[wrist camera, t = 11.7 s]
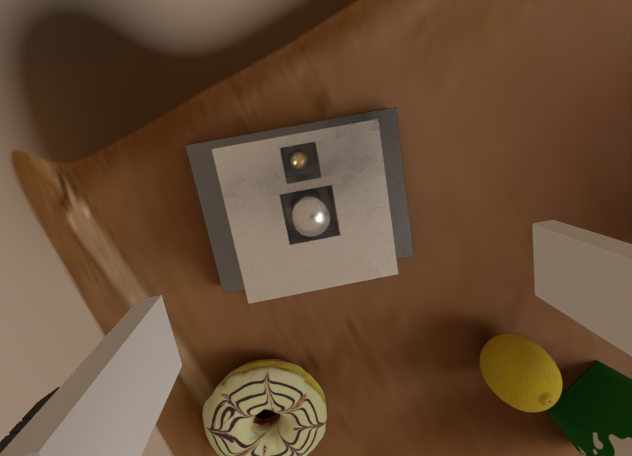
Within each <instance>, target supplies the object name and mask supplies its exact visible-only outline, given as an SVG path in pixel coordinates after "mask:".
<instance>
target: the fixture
mask: <svg viewBox="0 0 632 456" xmlns="http://www.w3.org/2000/svg"><path fill="white" fill-rule="evenodd" d="M375 119H378V122H379V130H380V137H381V145H382V153H383V160H384V168H385V176H386V184H387V191H388V199H389V207H390V214H391V222H392V230H393V237H394V245H395V253H396V259H400V258H405V257H410V256H414V255H413V247H412V238H411V230H410V221H409V213H408V205H407V196H406V188H405V179H404V171H403V163H402V154H401V146H400V137H399V129H398V121H397V112H396V107H395V108H389V109H384V110H378V111H373V112H367V113H362V114H356V115H351V116H345V117H340V118H334V119H329V120H323V121H318V122H312V123H307V124H301V125H296V126H290V127H285V128H279V129H274V130H268V131H263V132H258V133H252V134H247V135H241V136H236V137H230V138H225V139H219V140H214V141H208V142H203V143H197V144H192V145H186V150H187V154H188V158H189V161H190V165H191V169H192V173H193V177H194V181H195V185H196V189H197V193H198V196H199V200H200V204H201V208H202V212H203V216H204V220H205V224H206V228H207V231H208V235H209V239H210V243H211V247H212V251H213V255H214V259H215V263H216V267H217V270H218V274H219V278H220V282H221V286H222V290H223V293H228V292H233V291H238V290H243V289H245V287H244V282H243V278H242V274H241V270H240V266H239V261H238V257H237V253H236V249H235V245H234V241H233V236H232V232H231V228H230V224H229V220H228V216H227V211H226V207H225V203H224V199H223V195H222V190H221V186H220V182H219V178H218V174H217V170H216V165H215V161H214V157H213V153H212V149H215V148H221V147H226V146H232V145H237V144H243V143H248V142H254V141H259V140H265V139H270V138H276V137H281V136H287V135H292V134H298V133H303V132H309V131H314V130H320V129H326V128H331V127H337V126H342V125H348V124H353V123H359V122H364V121H370V120H375ZM280 149H281V154H282V159H283V164H284V169H285V175H286V178H288V177H293V176H299V175H304V174H309V173H315V172H317V171H316V165H315V160H314V154H313V148H312V142H310V143H305V144H299V145H294V146H288V147H283V148H280ZM282 199H283V204H284V209H285V214H286V219H287V224H288V229H289V231H292V230H297V231H298V232H299V233H301V234H302V235H305V236H309V237H313V236H317V235H320V234H321V233H323V232H324V231H325V230H326V229H327V227H328V225H329V223H333V219H332V213H331V207H330V201H329V195H328V190H327V186H323V187H317V188H312V189H307V190H301V191H296V192H291V193H285V194H282Z"/></svg>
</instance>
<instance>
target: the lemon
mask: <svg viewBox="0 0 632 456" xmlns="http://www.w3.org/2000/svg"><path fill="white" fill-rule="evenodd" d="M480 369H481V372H482V375H483V377H484V379H485V381H486V383H487V384H488V386H489V387H490V388H491V389H492V391H493V392H494V393H495V394H496V395H497V396H498V397H499V398H500V399H502V400H503V401H504V402H506V403H507V404H509V405H510V406H512V407H514V408H516V409H518V410H521V411H525V412H541V411H544V410H547V409H549V408H551V407H552V406H553V405H554V404H555V403H556V402H557V401H558V399H559V398H560V395H561V393H562V385H563V383H562V377H561V373H560V371H559V369H558V367H557V365H556V364H555V362H554V360H553V359H552V358H551V356H550V355H549V354H548V353H547V352H546V351H545V350H544V349H543V348H542V347H541V346H540V345H538V344H537V343H535V342H534V341H532V340H530V339H528V338H526V337H524V336H521V335H516V334H501V335H497V336H495V337H493V338H491V339H490V340H489V341H488V342H487V343H486V344H485V345H484V346H483V349H482V351H481V354H480Z"/></svg>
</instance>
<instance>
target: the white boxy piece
mask: <svg viewBox="0 0 632 456" xmlns="http://www.w3.org/2000/svg"><path fill="white" fill-rule="evenodd" d="M310 142H312V148H313V154H314V160H315V165H316V171H317V172H315V173H309V174H304V175H299V176H293V177H288V178H286V175H285V169H284V164H283V159H282V154H281V149H280V148H283V147H288V146H294V145H299V144H305V143H310ZM212 153H213V157H214V161H215V165H216V170H217V174H218V178H219V182H220V186H221V190H222V195H223V199H224V203H225V207H226V211H227V216H228V220H229V224H230V228H231V232H232V236H233V241H234V245H235V249H236V253H237V257H238V261H239V266H240V270H241V274H242V278H243V282H244V287H245V291H246V295H247V299H248V303H249V304H250V303H255V302H260V301H265V300H270V299H275V298H280V297H285V296H290V295H295V294H300V293H305V292H310V291H315V290H320V289H325V288H330V287H335V286H341V285H346V284H351V283H356V282H361V281H366V280H371V279H376V278H381V277H386V276H391V275H396V274H398V268H397V260H396V253H395V245H394V237H393V230H392V222H391V214H390V207H389V199H388V191H387V184H386V176H385V168H384V160H383V153H382V145H381V137H380V130H379V122H378V119H375V120H370V121H364V122H359V123H353V124H348V125H342V126H337V127H331V128H326V129H320V130H314V131H309V132H303V133H298V134H292V135H287V136H281V137H276V138H270V139H265V140H259V141H254V142H248V143H243V144H237V145H232V146H226V147H221V148H215V149H212ZM323 186H327V190H328V195H329V201H330V207H331V213H332V219H333V223H329V225H328V227H327V229H326V230H325V231H324V232H323V233H321V234H320V235H317V236H313V237H309V236H305V235H302V234H301V233H299V232H298V231H297V230H292V231H289V229H288V224H287V219H286V214H285V209H284V204H283V199H282V194H285V193H291V192H296V191H301V190H307V189H312V188H317V187H323Z"/></svg>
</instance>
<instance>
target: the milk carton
mask: <svg viewBox="0 0 632 456" xmlns="http://www.w3.org/2000/svg"><path fill="white" fill-rule="evenodd" d="M546 411H547V412H548V413H549V415H550V416H551V417H552V418H553V420H554V421H555V422H556V423H557V425H558V426H559V427H560V428H561V430H562V431H563V432H564V434H565V435H566V436H567V437H568V439H569V440H570V441H571V443H572V444H573V445H574V446H575V448H576V449H577V450H578V451H579V453H580V454H581V455H582V456H632V379H630V378H628V377H626V376H625V375H623V374H621V373H619V372H617V371H615V370H614V369H612V368H610V367H608V366H606V365H605V364H603V363H601V362H599V361H597V362H596V363H595V364H594V365H593V366H592V367H591V368H590V369H589V370H588V371H586V372H585V373H584V374H583V375H582V376H581V377H580V378H579V379H578V380H577V381H576V382H575V383H574V384H573V385H572V386H571V387H570V388H569V389H568V390H567V391H566V392H564V393H563V394H562V395H561V396H560V398H559V399H558V401H557V402H556V403H555V404H554V405H553V406H552V407H551V408H549V409H547V410H546Z"/></svg>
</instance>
